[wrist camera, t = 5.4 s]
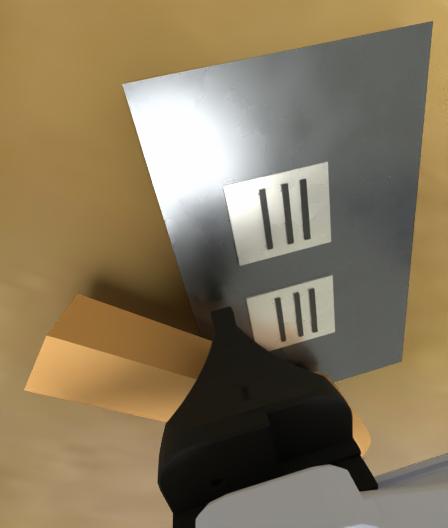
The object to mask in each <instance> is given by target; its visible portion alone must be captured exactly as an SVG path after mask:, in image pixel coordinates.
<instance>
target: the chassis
mask: <svg viewBox="0 0 448 528" xmlns="http://www.w3.org/2000/svg"><path fill="white" fill-rule="evenodd" d="M432 26H433V21H431V22H426V23H421V24H416V25H411V26H406V27H401V28H396V29H392V30H387V31H382V32H377V33H372V34H367V35H362V36H357V37H352V38H347V39H342V40H337V41H332V42H327V43H323V44H318V45H313V46H308V47H303V48H298V49H293V50H288V51H283V52H278V53H273V54H268V55H263V56H258V57H254V58H249V59H244V60H239V61H234V62H229V63H224V64H219V65H214V66H209V67H204V68H199V69H194V70H189V71H185V72H180V73H175V74H170V75H165V76H160V77H155V78H150V79H145V80H140V81H135V82H130V83H125V84H123V88H124V91H125V94H126V97H127V101H128V104H129V107H130V110H131V114H132V117H133V120H134V123H135V127H136V130H137V133H138V136H139V140H140V143H141V146H142V149H143V153H144V156H145V159H146V162H147V166H148V169H149V172H150V176H151V179H152V182H153V185H154V189H155V192H156V195H157V198H158V202H159V205H160V208H161V211H162V215H163V218H164V221H165V224H166V228H167V231H168V234H169V237H170V241H171V244H172V247H173V250H174V254H175V257H176V260H177V263H178V267H179V270H180V273H181V276H182V280H183V283H184V286H185V289H186V293H187V296H188V299H189V303H190V306H191V309H192V312H193V316H194V319H195V322H196V325H197V329H198V332H199V335H200V337H202V338H204V339H207V340H210V341H213V338H214V333H215V329H214V325H213V322H212V317H211V311H215V310H219V309H222V308H226V307H230V306H231V308H232V310H233V312H234V316H235V321H236V324H237V325H238V326H239V327H240V328H241V329H242V330H243V331H244V332H245V333H246V334H247V335H248V336H249V337H250V338H252V339H253V340H254V341H255V342H256V343H258V344H259V345H260V346H262V347H263V348H265V349H266V350H268V351H269V352H271V353H272V354H274V355H276V356H278V357H279V358H281V359H283V360H285V361H287V362H289V363H291V364H293V365H295V366H298V367H300V368H302V369H305V370H308V371H311V372H321V373H324V374H326V375H328V376H329V377H330V378H331V379H332V381H333V382H336V381H339V380H343V379H346V378H349V377H352V376H356V375H359V374H362V373H365V372H369V371H372V370H375V369H378V368H382V367H385V366H388V365H392V364H395V363H398V362H401V361H402V351H403V341H404V330H405V319H406V308H407V297H408V286H409V276H410V265H411V254H412V243H413V232H414V221H415V210H416V200H417V189H418V178H419V167H420V156H421V145H422V134H423V124H424V113H425V102H426V91H427V80H428V69H429V58H430V48H431V37H432Z"/></svg>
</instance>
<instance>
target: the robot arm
mask: <svg viewBox="0 0 448 528" xmlns="http://www.w3.org/2000/svg"><path fill="white" fill-rule="evenodd" d="M211 317H212V322H213V325H214V329H215V333H214V338H213V341H212V344H211V348H210V351H209V354H208V356H207V359H206V361H205V364H204V366H203V368H202V370H201V372H200V374H199V376H198V378H197V380H196V382H195V383H194V385H193V387H192V388H191V390H190V391H189V393H188V395H187V396H186V398H185V399H184V401H183V402H182V404H181V405H180V406H179V408H178V409H177V410H176V412H175V413H174V414H173V415H172V417H171V418H170V419H169V420H168V421H167V423H166V425H165V429H164V433H163V437H162V442H161V448H160V453H159V465H158V485H159V488H160V491H161V492H162V494H163V496H164V498H165V500H166V502H167V503H168V505H169V507H170V509H171V511H172V512H173V528H448V453H446V454H443V455H440V456H437V457H434V458H431V459H428V460H424V461H421V462H418V463H415V464H412V465H409V466H406V467H403V468H400V469H397V470H394V471H391V472H388V473H385V474H382V475H378V476H375V477H373V475H372V473H371V472H370V470H369V468H368V467H367V465H366V464H365V462H364V460H363V459H362V457H361V450H360V448H359V446H358V445H357V443H356V441H355V440H354V438H353V416H352V411H351V408H350V407H349V405H348V403H347V402H346V400H345V399H344V397H343V396H342V395H341V394H340V393H339V391H338V390H337V389H336V388H335V387H334V386H333V385H332V384H331V383H330V382H329V380H328V379H327V378H326V377H325V376H322V375H320V374H317V373H314V372H311V371H308V370H305V369H302V368H300V367H298V366H295V365H293V364H291V363H289V362H287V361H285V360H283V359H281V358H279V357H278V356H276V355H274V354H272V353H271V352H269V351H268V350H266V349H265V348H263V347H262V346H260V345H259V344H258V343H256V342H255V341H254V340H253V339H252V338H250V337H249V336H248V335H247V334H246V333H245V332H244V331H243V330H242V329H241V328H240V327H239V326H238V325H237V324H236V321H235V316H234V312H233V310H232V308H231V306H230V307H226V308H222V309H219V310H215V311H211Z"/></svg>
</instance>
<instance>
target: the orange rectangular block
mask: <svg viewBox="0 0 448 528" xmlns="http://www.w3.org/2000/svg"><path fill="white" fill-rule="evenodd" d="M211 344H212V341H210V340H207V339H204V338H202V337H199V336H196V335H193V334H190V333H187V332H185V331H182V330H179V329H176V328H173V327H171V326H168V325H165V324H162V323H159V322H156V321H154V320H151V319H148V318H145V317H142V316H140V315H137V314H134V313H131V312H128V311H125V310H123V309H120V308H117V307H114V306H111V305H108V304H106V303H103V302H100V301H97V300H94V299H92V298H89V297H86V296H83V295H80V294H77V295H76V296H75V298H74V299H73V300H72V302H71V303H70V305H69V306H68V307H67V309H66V310H65V311H64V313H63V314H62V315H61V317H60V318H59V319H58V321H57V322H56V323H55V325H54V326H53V328H52V329H51V330H50V332H49V333H48V334H47V336H46V338H45V341H44V343H43V346H42V348H41V350H40V353H39V355H38V358H37V360H36V363H35V365H34V367H33V370H32V372H31V375H30V377H29V380H28V382H27V384H26V387H25V389H24V390H25V391H30V392H34V393H39V394H43V395H48V396H52V397H56V398H61V399H65V400H70V401H74V402H79V403H83V404H87V405H92V406H96V407H101V408H105V409H110V410H114V411H119V412H123V413H127V414H132V415H136V416H141V417H145V418H150V419H154V420H158V421H163V422H167V421H168V420H169V419H170V418H171V417H172V415H173V414H174V413H175V412H176V410H177V409H178V408H179V406H180V405H181V404H182V402H183V401H184V399H185V398H186V396H187V395H188V393H189V391H190V390H191V388H192V387H193V385H194V383H195V382H196V380H197V378H198V376H199V374H200V372H201V370H202V368H203V366H204V364H205V361H206V359H207V356H208V354H209V351H210V348H211ZM314 373H317V374H320V375H322V376H325V377H326V378H327V379H328V380H329V382H330V383H331V384H332V385H333V386H334V387H335V388H336V389H337V390H338V391H339V389H338V388H337V386H336V385H335V384H334V382H333V381H332V379H331V378H330V377H329V376H328V375H326V374H324V373H321V372H314ZM339 393H340V394H341V395H342V393H341V392H340V391H339ZM342 396H343V395H342ZM343 397H344V396H343ZM344 399H345V398H344ZM345 400H346V399H345ZM346 402H347V401H346ZM347 403H348V402H347ZM348 405H349V403H348ZM349 407H350V408H351V406H350V405H349ZM351 411H352V416H353V438H354V440H355V441H356V443H357V445H358V446H359V448H360V450H361V457H362V456H363V455H364V454H365V453H366V452H367V450H368V448H369V446H370V443H371V436H370V433H369V432H368V430H367V429H366V428H365V426H364V425H363V423H362V422H361V421H360V419H359V418H358V416H357V415H356V413H355V412H354V411H353V409H352V408H351Z"/></svg>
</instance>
